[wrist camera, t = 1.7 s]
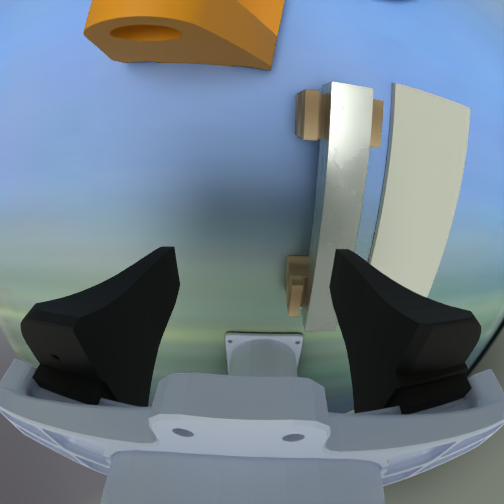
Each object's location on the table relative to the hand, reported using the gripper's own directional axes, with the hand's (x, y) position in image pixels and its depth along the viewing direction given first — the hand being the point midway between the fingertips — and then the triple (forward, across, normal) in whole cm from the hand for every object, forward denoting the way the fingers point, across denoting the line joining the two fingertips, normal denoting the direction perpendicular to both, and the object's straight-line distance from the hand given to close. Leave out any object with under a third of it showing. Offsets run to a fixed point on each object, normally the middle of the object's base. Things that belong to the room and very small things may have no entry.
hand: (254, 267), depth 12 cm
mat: (+10, -14, 0) cm, 17 cm away
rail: (+7, -5, 0) cm, 9 cm away
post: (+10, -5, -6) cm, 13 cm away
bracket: (+10, +4, -14) cm, 18 cm away
